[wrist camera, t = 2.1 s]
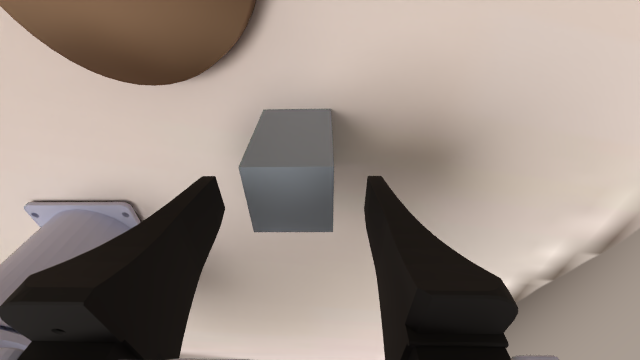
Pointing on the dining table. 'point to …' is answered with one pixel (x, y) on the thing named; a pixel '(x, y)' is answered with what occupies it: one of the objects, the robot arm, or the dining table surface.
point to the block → (290, 171)
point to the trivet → (136, 34)
